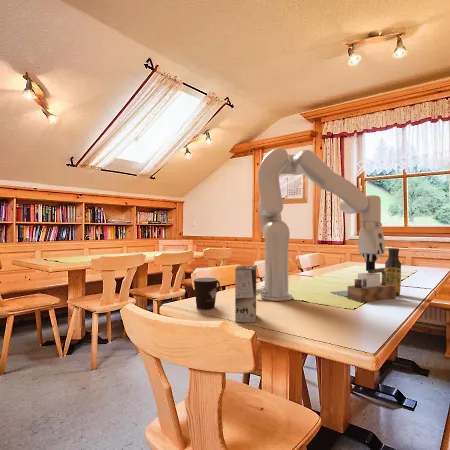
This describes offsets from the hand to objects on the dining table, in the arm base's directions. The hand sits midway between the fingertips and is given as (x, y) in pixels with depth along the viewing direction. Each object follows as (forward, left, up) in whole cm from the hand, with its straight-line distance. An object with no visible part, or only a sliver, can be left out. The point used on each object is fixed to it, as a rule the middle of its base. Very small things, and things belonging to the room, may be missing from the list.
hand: (370, 270), depth 133 cm
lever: (+2, -2, 0) cm, 3 cm away
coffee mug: (-66, +9, -11) cm, 68 cm away
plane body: (-1, -2, -11) cm, 11 cm away
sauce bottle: (+13, +1, -11) cm, 17 cm away
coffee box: (-60, -9, -11) cm, 62 cm away
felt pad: (-3, +9, -11) cm, 14 cm away
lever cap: (-2, -2, -6) cm, 7 cm away
